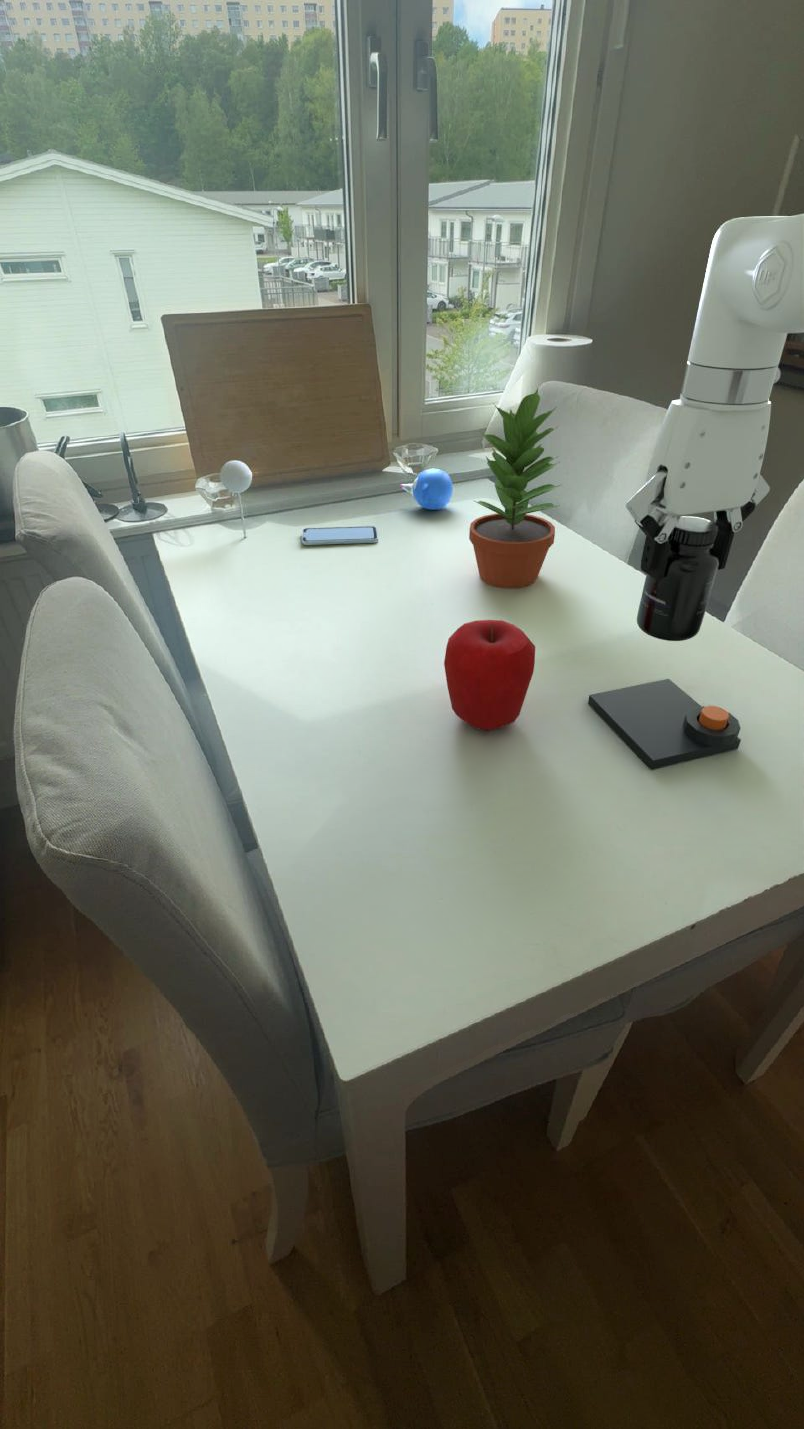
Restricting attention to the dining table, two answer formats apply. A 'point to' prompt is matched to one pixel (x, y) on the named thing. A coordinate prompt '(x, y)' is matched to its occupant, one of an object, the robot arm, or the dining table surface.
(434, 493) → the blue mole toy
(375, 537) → the smartphone
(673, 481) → the robot arm
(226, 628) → the dining table surface
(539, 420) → the potted plant
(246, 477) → the lollipop
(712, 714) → the button
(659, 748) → the scale
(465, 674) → the apple
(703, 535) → the supplement bottle
